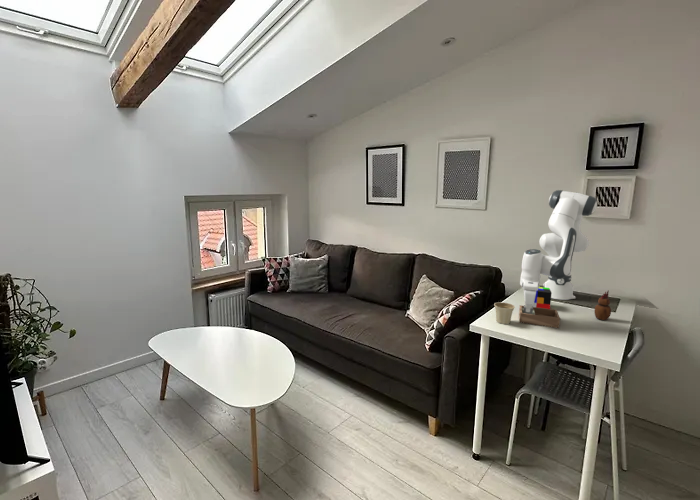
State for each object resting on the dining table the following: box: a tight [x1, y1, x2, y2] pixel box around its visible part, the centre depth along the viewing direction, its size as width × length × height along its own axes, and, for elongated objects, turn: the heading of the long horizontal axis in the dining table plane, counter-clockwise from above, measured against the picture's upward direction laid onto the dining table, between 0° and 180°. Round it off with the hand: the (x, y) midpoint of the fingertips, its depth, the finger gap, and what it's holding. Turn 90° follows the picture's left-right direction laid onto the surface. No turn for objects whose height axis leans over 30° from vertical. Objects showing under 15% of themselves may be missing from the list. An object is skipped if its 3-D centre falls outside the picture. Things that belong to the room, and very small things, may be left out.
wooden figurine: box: [593, 290, 612, 321], centre depth 182 cm, size 7×6×15 cm
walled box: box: [518, 304, 561, 329], centre depth 180 cm, size 13×17×5 cm
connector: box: [523, 304, 533, 314], centre depth 182 cm, size 4×4×7 cm
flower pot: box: [493, 301, 516, 325], centre depth 178 cm, size 9×9×9 cm
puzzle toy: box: [533, 286, 552, 309], centre depth 202 cm, size 10×10×10 cm
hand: (527, 308), depth 182 cm, fingers open, 8 cm apart
